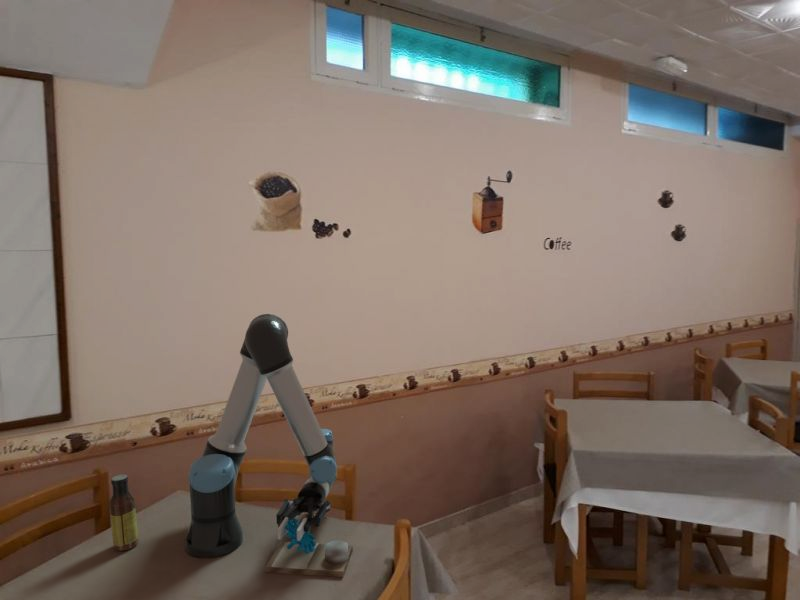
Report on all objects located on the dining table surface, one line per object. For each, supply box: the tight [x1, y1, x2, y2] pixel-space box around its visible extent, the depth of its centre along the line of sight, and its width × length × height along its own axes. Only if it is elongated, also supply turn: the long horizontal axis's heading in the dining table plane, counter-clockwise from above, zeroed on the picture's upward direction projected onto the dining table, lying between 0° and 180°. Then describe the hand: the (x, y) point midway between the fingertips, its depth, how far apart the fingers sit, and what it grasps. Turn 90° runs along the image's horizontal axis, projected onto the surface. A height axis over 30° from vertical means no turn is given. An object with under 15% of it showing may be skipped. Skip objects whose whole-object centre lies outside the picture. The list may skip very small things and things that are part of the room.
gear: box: [285, 517, 317, 554], centre depth 146 cm, size 11×6×10 cm
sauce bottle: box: [109, 474, 139, 552], centre depth 153 cm, size 6×6×20 cm
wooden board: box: [264, 539, 354, 578], centre depth 146 cm, size 20×12×4 cm, turn 83°
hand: (288, 535), depth 140 cm, fingers closed on gear, 4 cm apart
